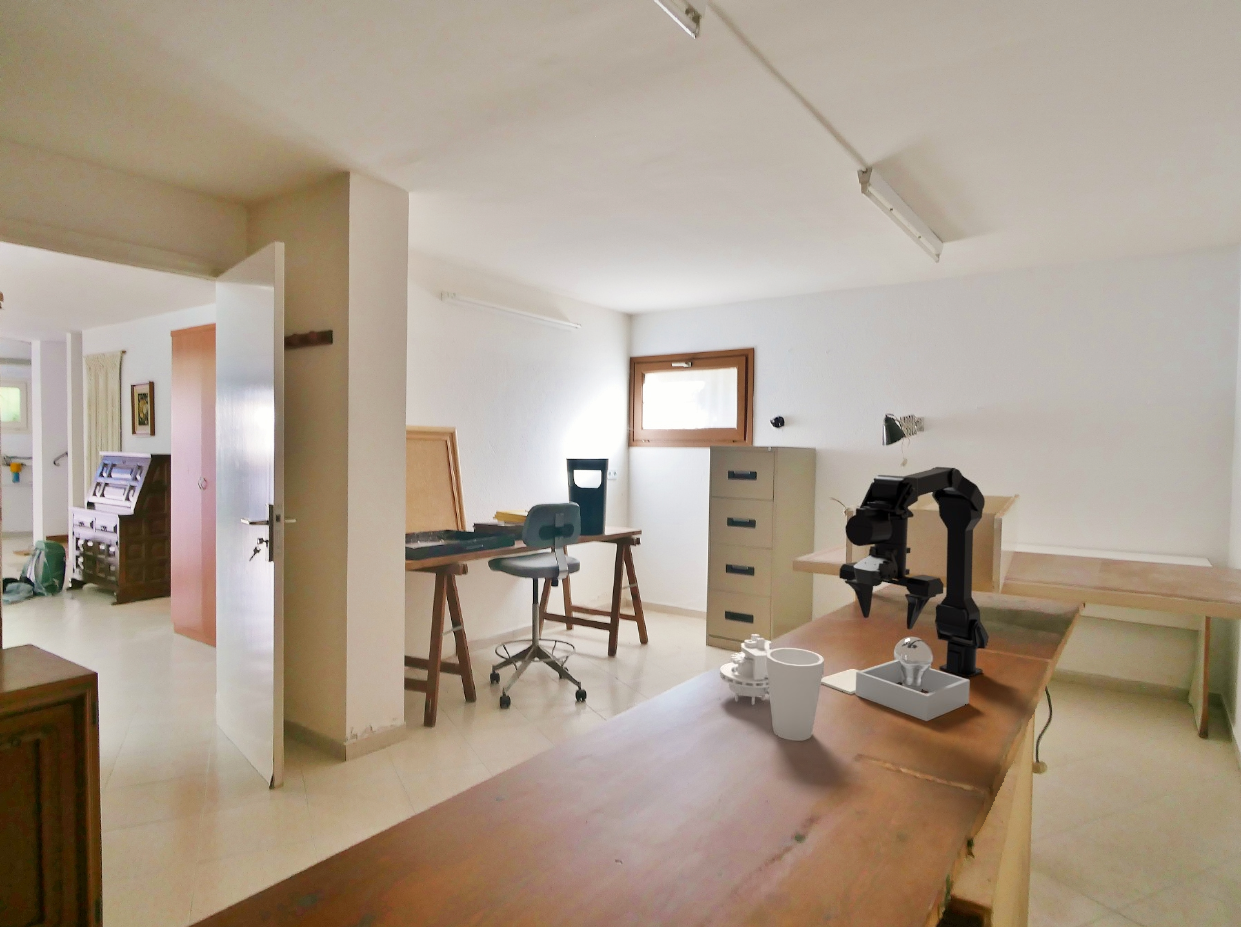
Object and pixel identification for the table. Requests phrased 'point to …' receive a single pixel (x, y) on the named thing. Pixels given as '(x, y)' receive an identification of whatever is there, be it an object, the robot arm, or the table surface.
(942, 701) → the grey box
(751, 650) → the mechanical part
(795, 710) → the foam cup
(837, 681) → the cream board
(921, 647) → the light bulb
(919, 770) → the table surface
